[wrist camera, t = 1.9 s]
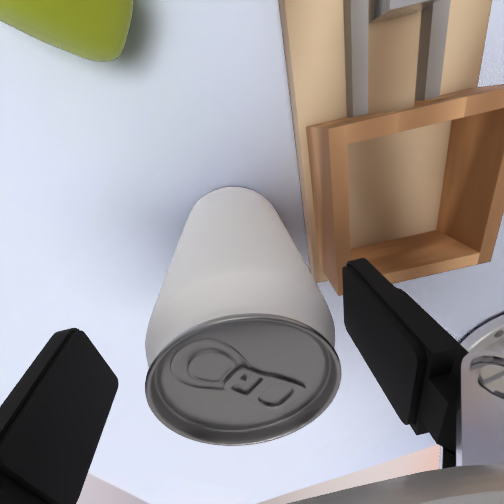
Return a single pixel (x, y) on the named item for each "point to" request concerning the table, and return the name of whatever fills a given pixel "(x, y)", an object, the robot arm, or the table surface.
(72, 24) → the dumbbell
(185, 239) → the can
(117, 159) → the table surface
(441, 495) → the robot arm
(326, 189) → the mount
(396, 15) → the lock bolt
